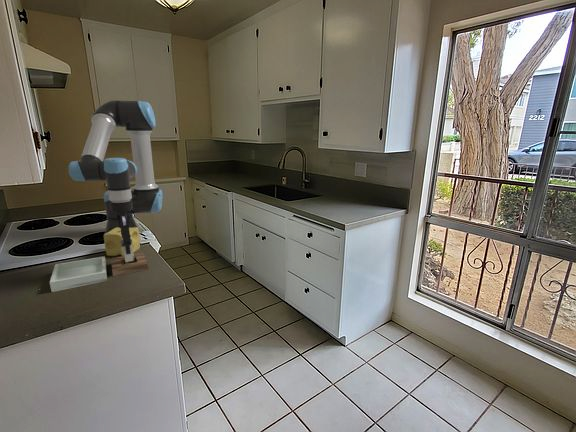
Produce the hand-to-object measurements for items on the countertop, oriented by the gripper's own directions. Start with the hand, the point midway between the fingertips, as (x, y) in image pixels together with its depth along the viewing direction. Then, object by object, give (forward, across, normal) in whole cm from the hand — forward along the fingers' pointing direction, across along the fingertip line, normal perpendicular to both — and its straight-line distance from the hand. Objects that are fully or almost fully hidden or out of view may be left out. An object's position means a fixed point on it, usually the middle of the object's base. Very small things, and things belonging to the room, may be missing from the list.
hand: (128, 257), depth 120 cm
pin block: (+4, 0, 0) cm, 4 cm away
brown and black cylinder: (+4, 0, 0) cm, 4 cm away
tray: (+4, +1, -16) cm, 17 cm away
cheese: (+4, -18, -1) cm, 19 cm away
